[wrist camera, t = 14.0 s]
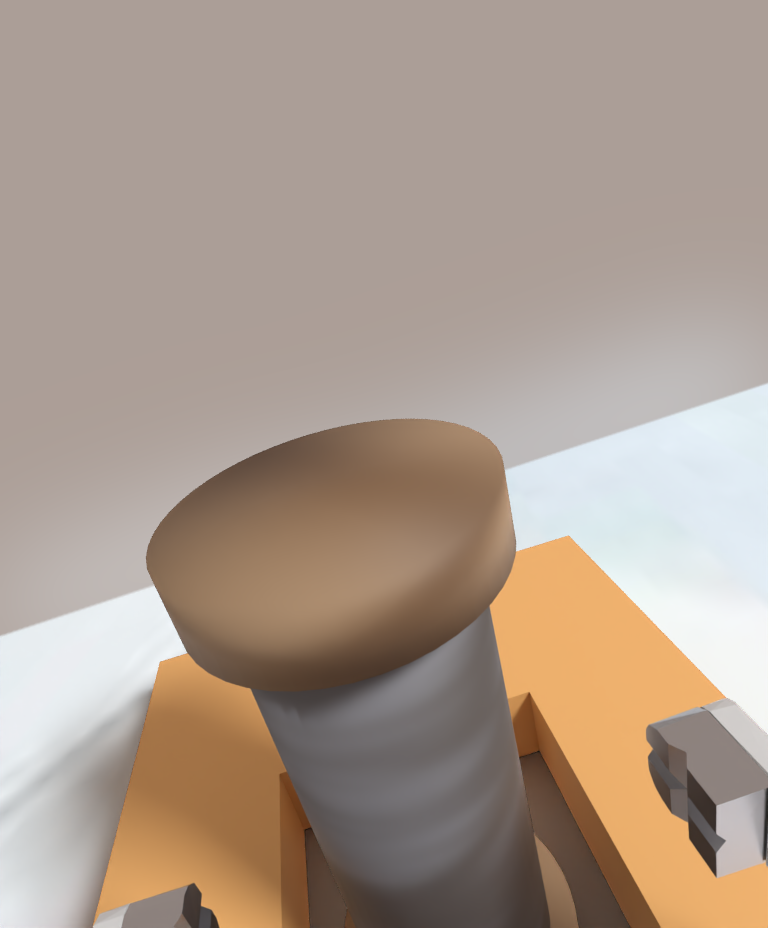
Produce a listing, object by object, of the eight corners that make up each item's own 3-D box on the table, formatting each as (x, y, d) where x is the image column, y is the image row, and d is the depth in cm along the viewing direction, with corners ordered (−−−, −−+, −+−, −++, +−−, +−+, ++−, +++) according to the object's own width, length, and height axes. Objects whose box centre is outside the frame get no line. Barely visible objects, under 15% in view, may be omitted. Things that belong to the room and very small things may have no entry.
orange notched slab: (1082, 1182, 11) (1129, 1113, 10) (16, 1638, 9) (-86, 1624, 8) (574, 585, 29) (568, 535, 28) (184, 708, 28) (160, 661, 26)
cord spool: (513, 1190, 12) (324, 672, 6) (312, 984, 17) (82, 552, 10) (620, 907, 16) (568, 428, 10) (437, 799, 21) (324, 412, 15)
